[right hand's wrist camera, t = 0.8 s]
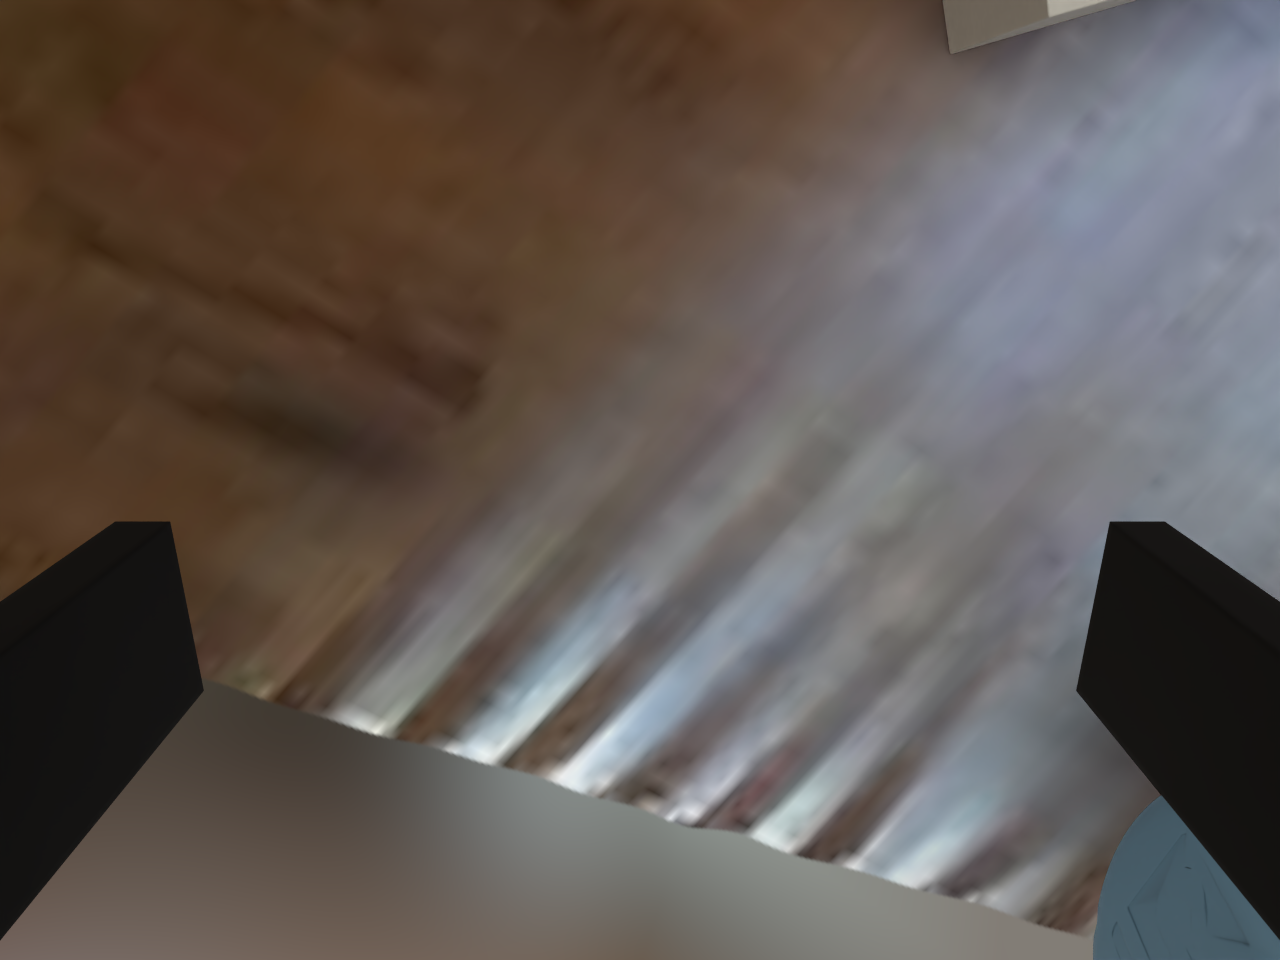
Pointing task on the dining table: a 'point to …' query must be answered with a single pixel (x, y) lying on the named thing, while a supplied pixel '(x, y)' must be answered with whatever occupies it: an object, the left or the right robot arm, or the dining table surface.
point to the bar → (1010, 18)
